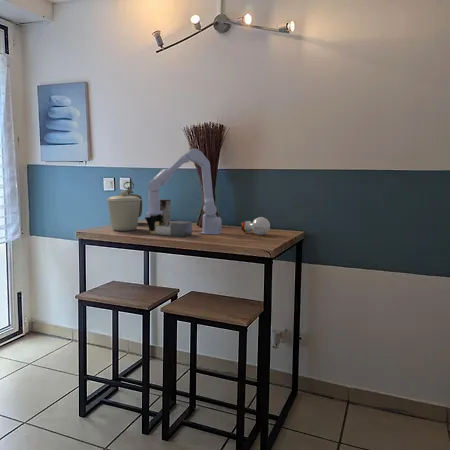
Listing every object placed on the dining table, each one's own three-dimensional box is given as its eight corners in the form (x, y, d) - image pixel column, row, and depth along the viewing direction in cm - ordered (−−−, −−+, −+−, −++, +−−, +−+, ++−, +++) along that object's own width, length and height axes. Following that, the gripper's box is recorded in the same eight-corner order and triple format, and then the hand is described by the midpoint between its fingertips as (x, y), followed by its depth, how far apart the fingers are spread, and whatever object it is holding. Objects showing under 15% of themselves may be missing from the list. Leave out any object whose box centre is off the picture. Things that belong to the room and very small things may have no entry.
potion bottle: (268, 239, 214) (244, 239, 223) (275, 226, 220) (251, 227, 229) (261, 225, 209) (237, 226, 218) (269, 212, 215) (245, 214, 224)
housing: (191, 234, 215) (191, 221, 215) (183, 237, 206) (183, 223, 205) (179, 233, 218) (179, 220, 217) (170, 236, 208) (170, 222, 207)
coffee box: (150, 228, 236) (150, 199, 234) (156, 227, 242) (156, 198, 240) (165, 229, 233) (165, 199, 231) (170, 227, 239) (170, 199, 237)
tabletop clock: (136, 222, 263) (136, 181, 259) (144, 223, 256) (143, 182, 253) (114, 223, 253) (114, 181, 250) (121, 225, 246) (121, 182, 243)
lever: (174, 234, 216) (174, 222, 215) (170, 235, 211) (170, 223, 210) (154, 232, 219) (154, 221, 218) (150, 233, 214) (150, 222, 214)
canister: (137, 232, 218) (137, 191, 216) (102, 231, 219) (101, 190, 216) (144, 228, 236) (144, 190, 234) (112, 227, 237) (111, 189, 234)
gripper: (153, 202, 223) (154, 228, 224) (140, 204, 209) (140, 231, 211) (166, 202, 221) (166, 228, 222) (152, 204, 207) (152, 232, 209)
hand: (154, 230), depth 216 cm, fingers closed on lever, 5 cm apart
